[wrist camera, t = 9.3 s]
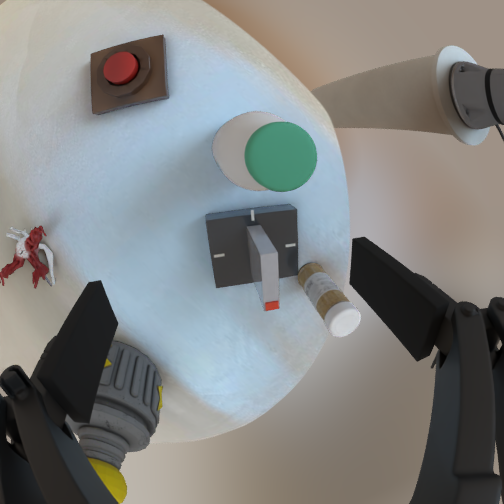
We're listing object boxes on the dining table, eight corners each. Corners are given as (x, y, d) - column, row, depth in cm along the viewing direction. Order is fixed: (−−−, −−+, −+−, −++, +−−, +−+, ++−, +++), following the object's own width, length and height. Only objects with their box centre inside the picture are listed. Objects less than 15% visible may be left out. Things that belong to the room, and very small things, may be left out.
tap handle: (246, 226, 35) (260, 255, 27) (260, 224, 36) (278, 253, 27) (250, 273, 38) (264, 312, 30) (263, 272, 38) (280, 309, 30)
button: (138, 52, 23) (134, 47, 22) (139, 80, 25) (136, 77, 23) (107, 60, 23) (103, 56, 21) (108, 88, 24) (103, 85, 23)
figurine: (38, 297, 37) (22, 318, 31) (1, 247, 32) (-19, 264, 26) (84, 255, 36) (67, 276, 30) (42, 195, 31) (19, 207, 25)
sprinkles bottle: (312, 290, 45) (346, 341, 33) (291, 280, 43) (322, 333, 31) (327, 268, 44) (368, 315, 32) (307, 257, 42) (345, 304, 30)
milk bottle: (200, 138, 33) (196, 137, 15) (251, 108, 32) (305, 77, 14) (231, 186, 36) (262, 239, 18) (280, 156, 35) (357, 179, 17)
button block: (165, 39, 26) (161, 29, 22) (169, 98, 30) (164, 93, 26) (96, 57, 25) (85, 50, 21) (98, 114, 28) (87, 113, 25)
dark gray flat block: (290, 199, 38) (297, 205, 35) (292, 269, 43) (298, 279, 40) (204, 210, 37) (204, 216, 34) (215, 281, 41) (216, 292, 38)
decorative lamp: (64, 330, 40) (10, 466, 13) (156, 338, 44) (142, 505, 17) (91, 392, 48) (68, 505, 20) (168, 399, 51) (170, 525, 24)
